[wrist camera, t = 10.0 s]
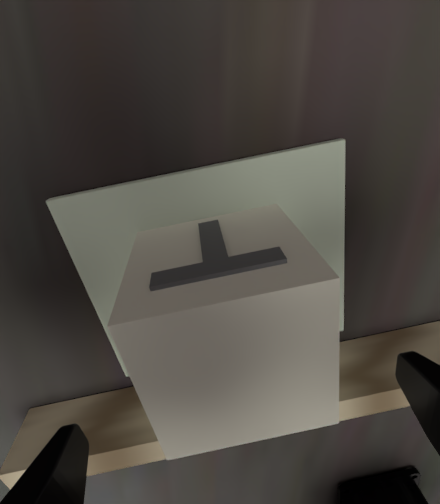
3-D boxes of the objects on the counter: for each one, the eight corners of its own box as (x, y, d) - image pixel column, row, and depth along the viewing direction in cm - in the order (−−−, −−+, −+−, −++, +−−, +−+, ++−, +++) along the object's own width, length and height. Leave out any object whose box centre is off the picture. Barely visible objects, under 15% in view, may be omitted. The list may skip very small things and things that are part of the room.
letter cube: (276, 200, 13) (340, 273, 8) (287, 313, 16) (339, 423, 11) (136, 229, 13) (105, 321, 8) (172, 337, 16) (166, 460, 11)
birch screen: (441, 320, 18) (495, 367, 15) (438, 339, 19) (488, 388, 16) (29, 408, 18) (-3, 475, 15) (41, 424, 18) (13, 492, 15)
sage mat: (340, 138, 13) (345, 139, 12) (340, 325, 17) (343, 330, 17) (49, 198, 13) (45, 201, 12) (127, 371, 17) (126, 376, 17)
